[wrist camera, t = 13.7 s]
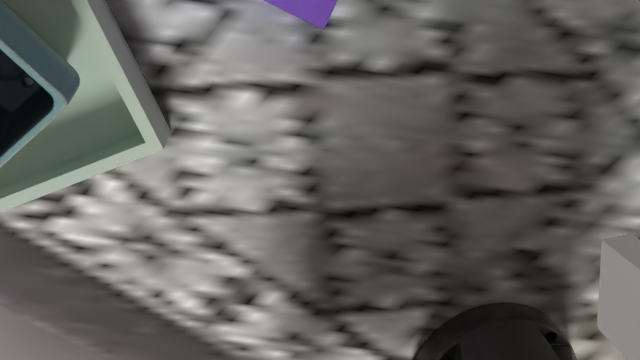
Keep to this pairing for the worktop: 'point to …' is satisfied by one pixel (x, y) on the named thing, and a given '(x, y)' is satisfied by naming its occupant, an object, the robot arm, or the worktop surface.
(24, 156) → the pale green square tray
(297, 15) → the bracket
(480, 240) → the worktop surface
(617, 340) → the robot arm
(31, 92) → the flower pot
